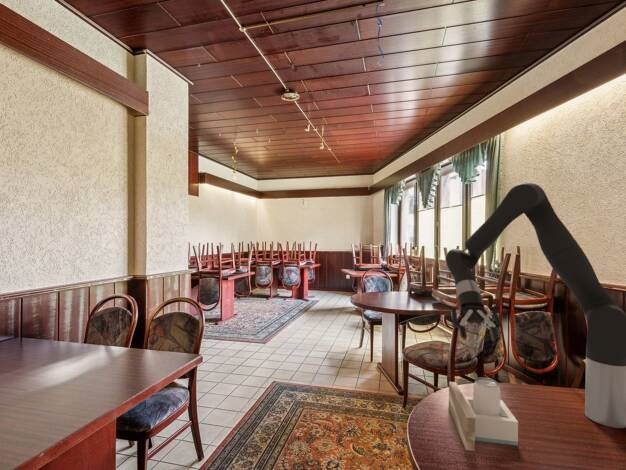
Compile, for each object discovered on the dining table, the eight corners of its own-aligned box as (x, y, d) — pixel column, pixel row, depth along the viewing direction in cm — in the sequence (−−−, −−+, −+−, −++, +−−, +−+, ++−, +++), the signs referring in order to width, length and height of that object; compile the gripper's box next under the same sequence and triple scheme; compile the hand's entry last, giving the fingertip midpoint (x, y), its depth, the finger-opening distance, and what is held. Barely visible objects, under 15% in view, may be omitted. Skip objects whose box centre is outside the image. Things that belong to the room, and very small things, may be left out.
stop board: (455, 408, 100) (455, 382, 100) (474, 451, 81) (475, 418, 81) (448, 407, 101) (448, 381, 101) (465, 449, 81) (466, 417, 81)
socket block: (501, 421, 94) (501, 400, 94) (517, 445, 83) (518, 421, 83) (460, 416, 96) (460, 396, 96) (470, 439, 85) (471, 416, 85)
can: (504, 433, 86) (505, 387, 86) (479, 432, 87) (480, 386, 87) (492, 419, 93) (493, 377, 93) (468, 418, 93) (469, 376, 93)
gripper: (449, 289, 113) (457, 332, 102) (494, 290, 110) (507, 334, 99) (445, 301, 118) (453, 344, 107) (488, 303, 116) (501, 346, 104)
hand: (479, 339), depth 103 cm, fingers open, 8 cm apart
